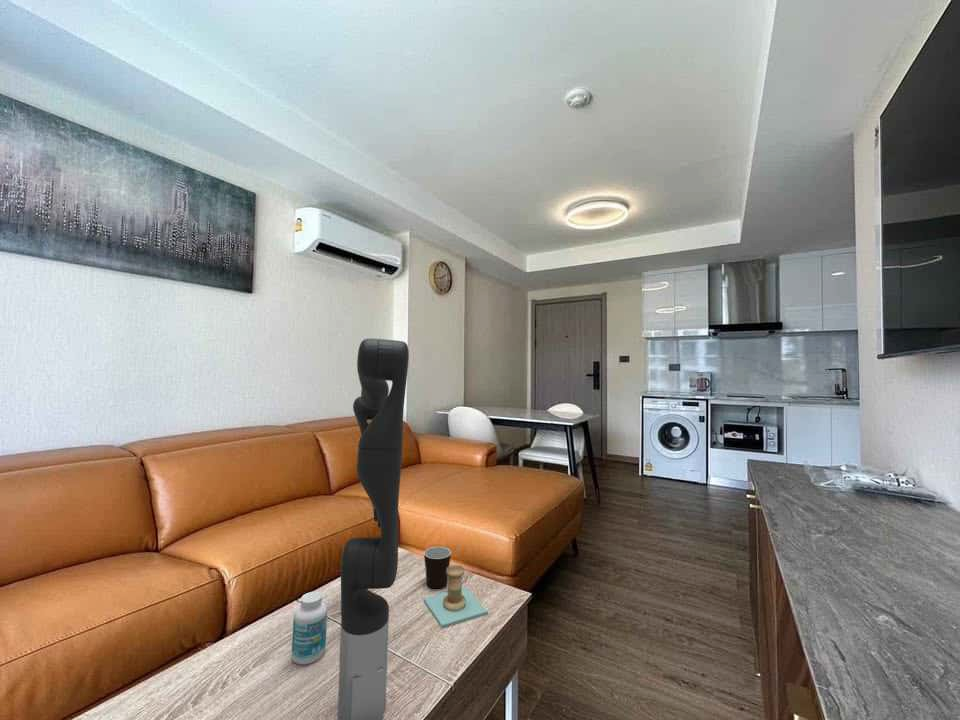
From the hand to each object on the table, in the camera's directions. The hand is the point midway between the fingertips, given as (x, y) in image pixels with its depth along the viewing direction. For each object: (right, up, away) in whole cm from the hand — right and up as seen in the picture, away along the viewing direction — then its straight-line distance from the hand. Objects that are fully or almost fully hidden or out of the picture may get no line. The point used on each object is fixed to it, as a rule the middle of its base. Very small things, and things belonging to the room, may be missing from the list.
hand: (380, 523), depth 110 cm
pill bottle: (-13, -24, -17) cm, 32 cm away
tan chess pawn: (+21, -25, +3) cm, 32 cm away
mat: (+21, -26, +3) cm, 33 cm away
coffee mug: (+14, -26, +17) cm, 34 cm away
